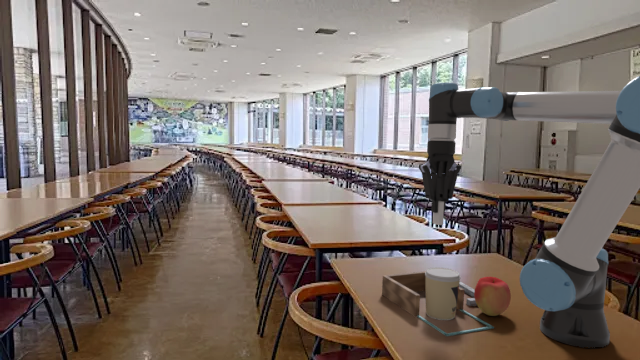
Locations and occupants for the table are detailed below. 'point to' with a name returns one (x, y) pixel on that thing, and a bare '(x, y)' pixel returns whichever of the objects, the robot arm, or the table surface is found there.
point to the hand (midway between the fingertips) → (437, 223)
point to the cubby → (410, 291)
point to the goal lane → (460, 331)
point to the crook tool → (470, 292)
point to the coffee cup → (441, 293)
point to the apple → (492, 295)
